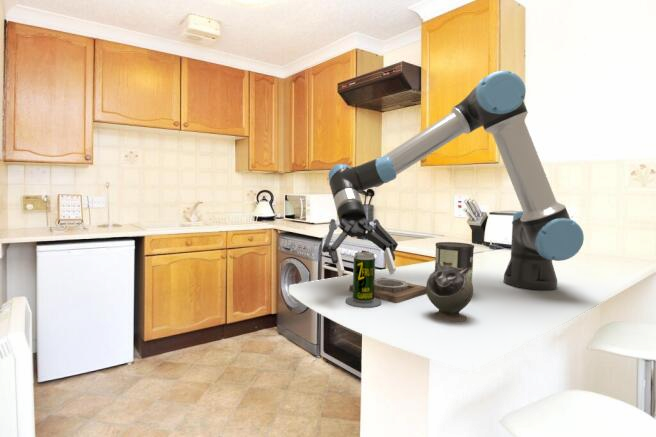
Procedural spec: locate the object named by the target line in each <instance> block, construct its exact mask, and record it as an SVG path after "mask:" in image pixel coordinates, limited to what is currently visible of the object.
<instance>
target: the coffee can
mask: <svg viewBox="0 0 656 437" xmlns="http://www.w3.org/2000/svg"><path fill="white" fill-rule="evenodd" d="M474 248H475V245H474V244H472V243H464V242H455V241H440V242H439V241H438V242H436V243H435V259H434V260H435V262H434V263H435V264H434V266H435V265H436V263H438V264H441V266H443V267H456V268H459V269H461V270H462V269H463V268H464V267H468V268H469V270H468V273H466V274H467V275H468V276H469V278H470V279H471V281H472V282H473V270H474V269H473V267H474V250H475V249H474Z"/></svg>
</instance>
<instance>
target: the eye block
mask: <svg viewBox="0 0 656 437" xmlns="http://www.w3.org/2000/svg"><path fill="white" fill-rule="evenodd" d="M348 290H349V292H352V293H353V284H351V285H349V289H348ZM425 294H426V295H427V293H426V285H421V284H415V283H411V282H407V281H405V280H401V279H395V278H387V277H381V278H376V279H375V281H374V298H377V299H379V300H383V301H386V302H387V301H388V302H391V303H395V304H396V303H398V304H399V303H401V302H404V301H407V300H410V299H413V298H416V297H419V296H423V295H425Z"/></svg>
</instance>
